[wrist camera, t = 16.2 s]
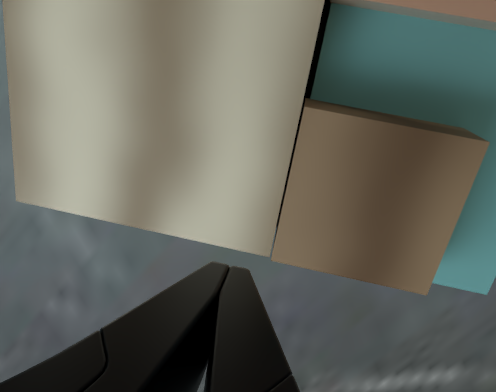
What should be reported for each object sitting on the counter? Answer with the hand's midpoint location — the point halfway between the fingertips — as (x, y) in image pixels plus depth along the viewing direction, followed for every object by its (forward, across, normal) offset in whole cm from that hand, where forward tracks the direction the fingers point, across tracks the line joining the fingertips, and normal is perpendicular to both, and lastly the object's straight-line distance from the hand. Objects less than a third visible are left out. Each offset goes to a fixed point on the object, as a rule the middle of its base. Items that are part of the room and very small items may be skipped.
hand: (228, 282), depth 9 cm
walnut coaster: (+10, -4, 0) cm, 11 cm away
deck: (+11, +5, -5) cm, 13 cm away
